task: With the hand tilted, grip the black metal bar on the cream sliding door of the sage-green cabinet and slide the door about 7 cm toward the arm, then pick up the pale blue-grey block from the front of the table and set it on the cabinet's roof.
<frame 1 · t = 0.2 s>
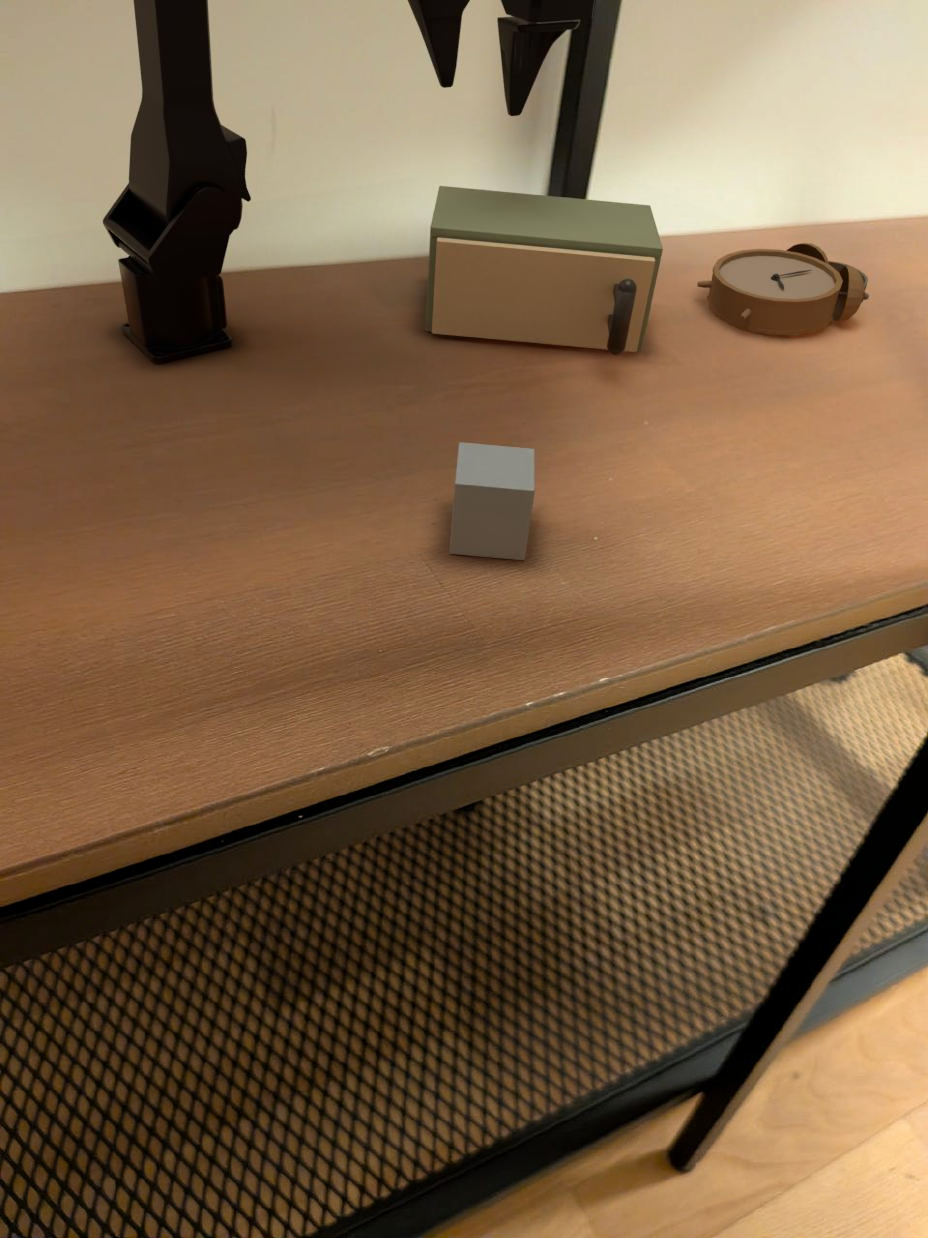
hand: (479, 100, 79), 15 cm above the table, tool pointing down, fingers open, 9 cm apart
block: (488, 535, 58), on the table
door: (540, 309, 74), point 4 cm above the table, slide at 0.0 cm
cabinet: (533, 315, 83), on the table
alarm clock: (782, 311, 88), on the table
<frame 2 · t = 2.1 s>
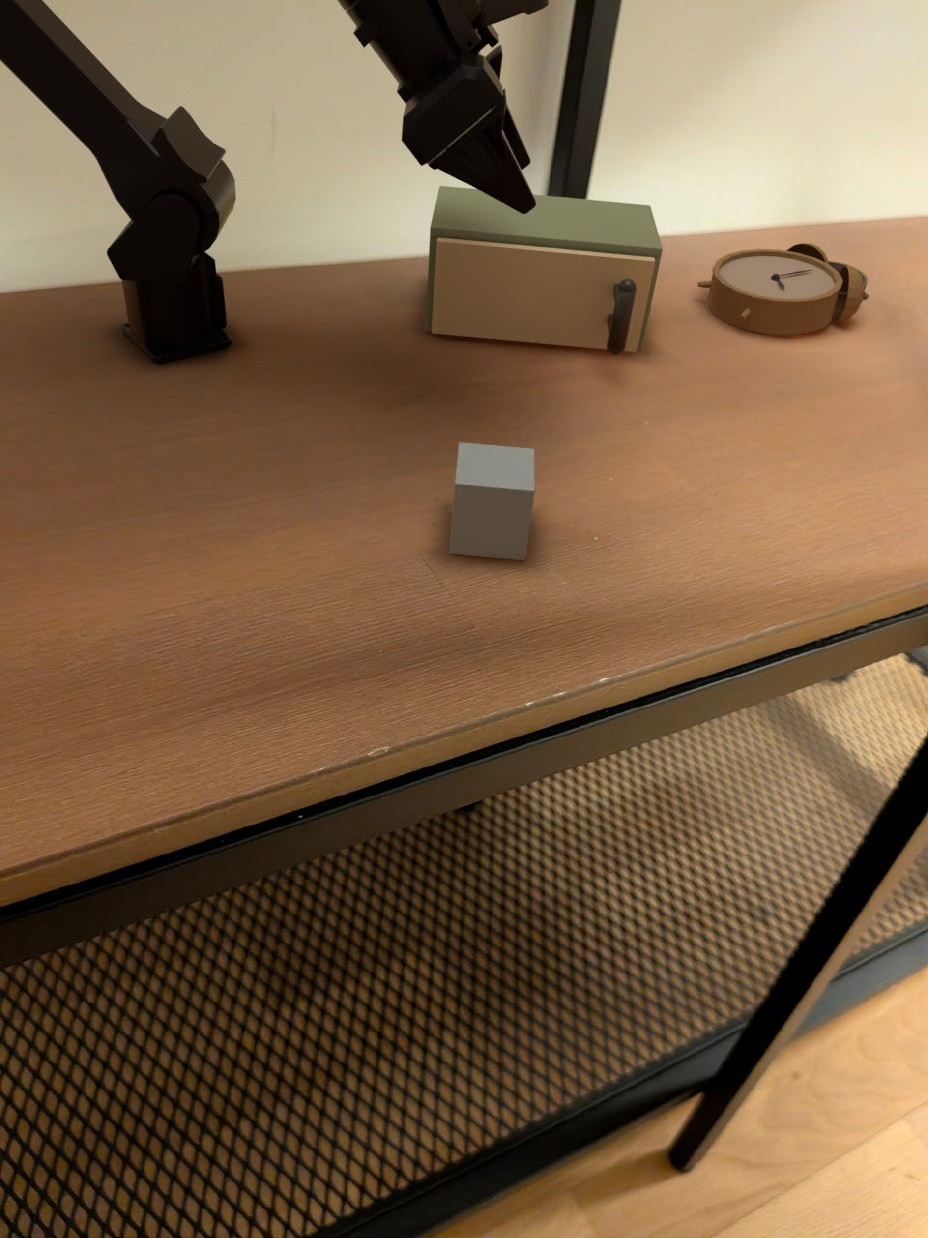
hand: (527, 186, 67), 13 cm above the table, tool tilted 40°, fingers open, 9 cm apart
nothing on the table moved.
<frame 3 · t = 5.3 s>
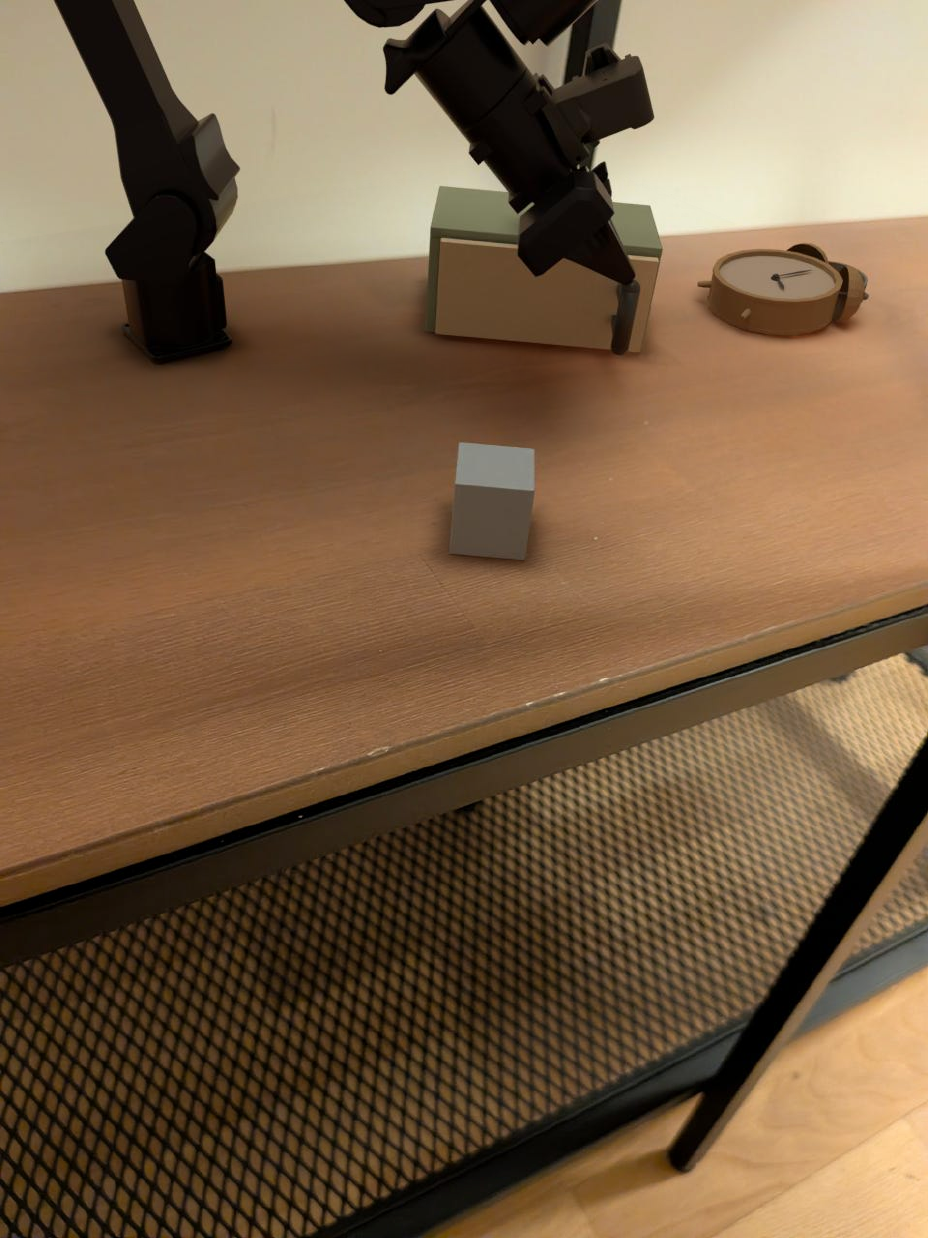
hand: (630, 279, 70), 8 cm above the table, tool tilted 45°, fingers closed, pressing on door
door: (543, 309, 74), point 4 cm above the table, slide at 0.3 cm, touching gripper
everything else where it was.
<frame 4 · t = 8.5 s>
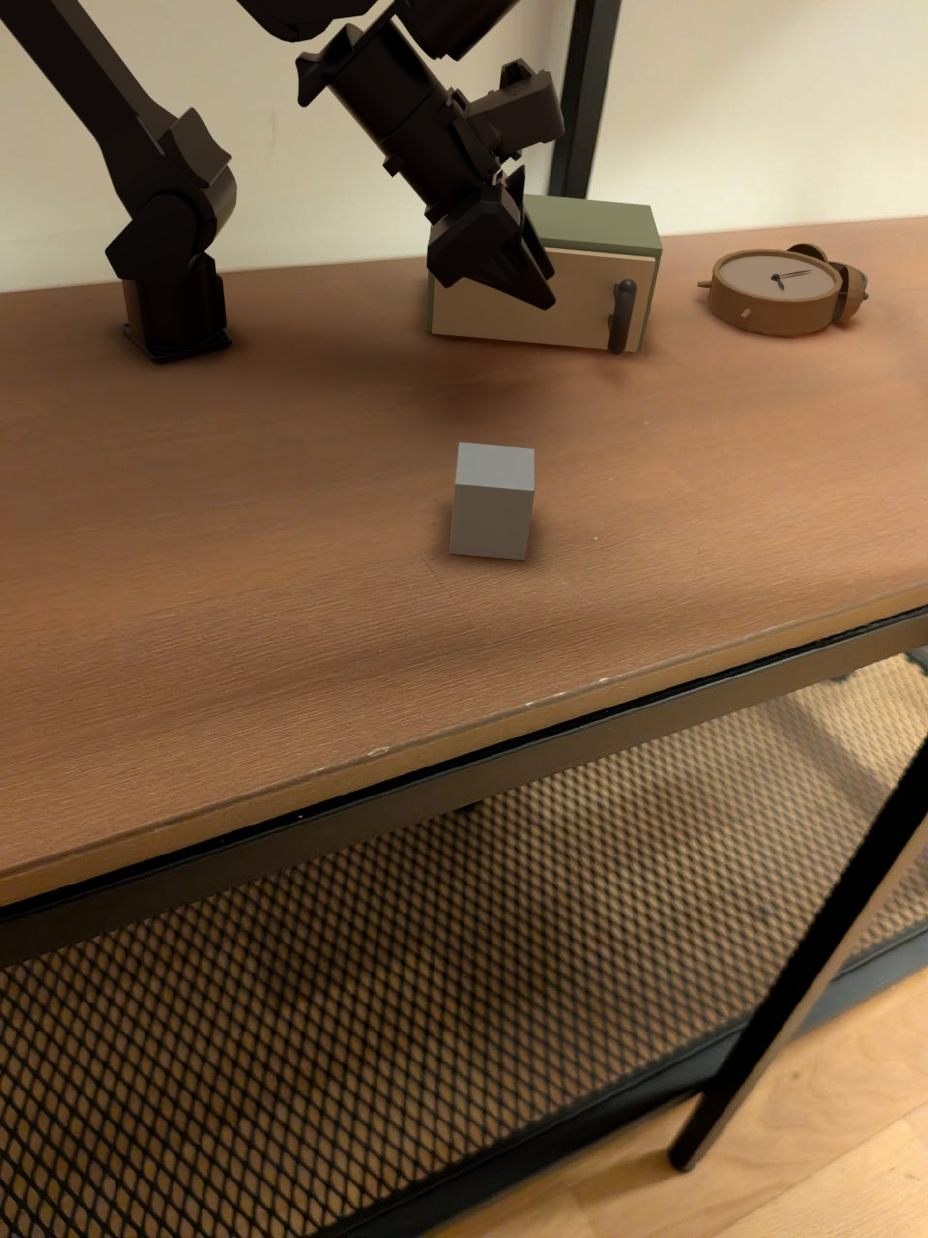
hand: (550, 291, 70), 7 cm above the table, tool tilted 45°, fingers open, 5 cm apart
door: (540, 309, 74), point 4 cm above the table, slide at 0.0 cm, touching gripper
everything else where it was.
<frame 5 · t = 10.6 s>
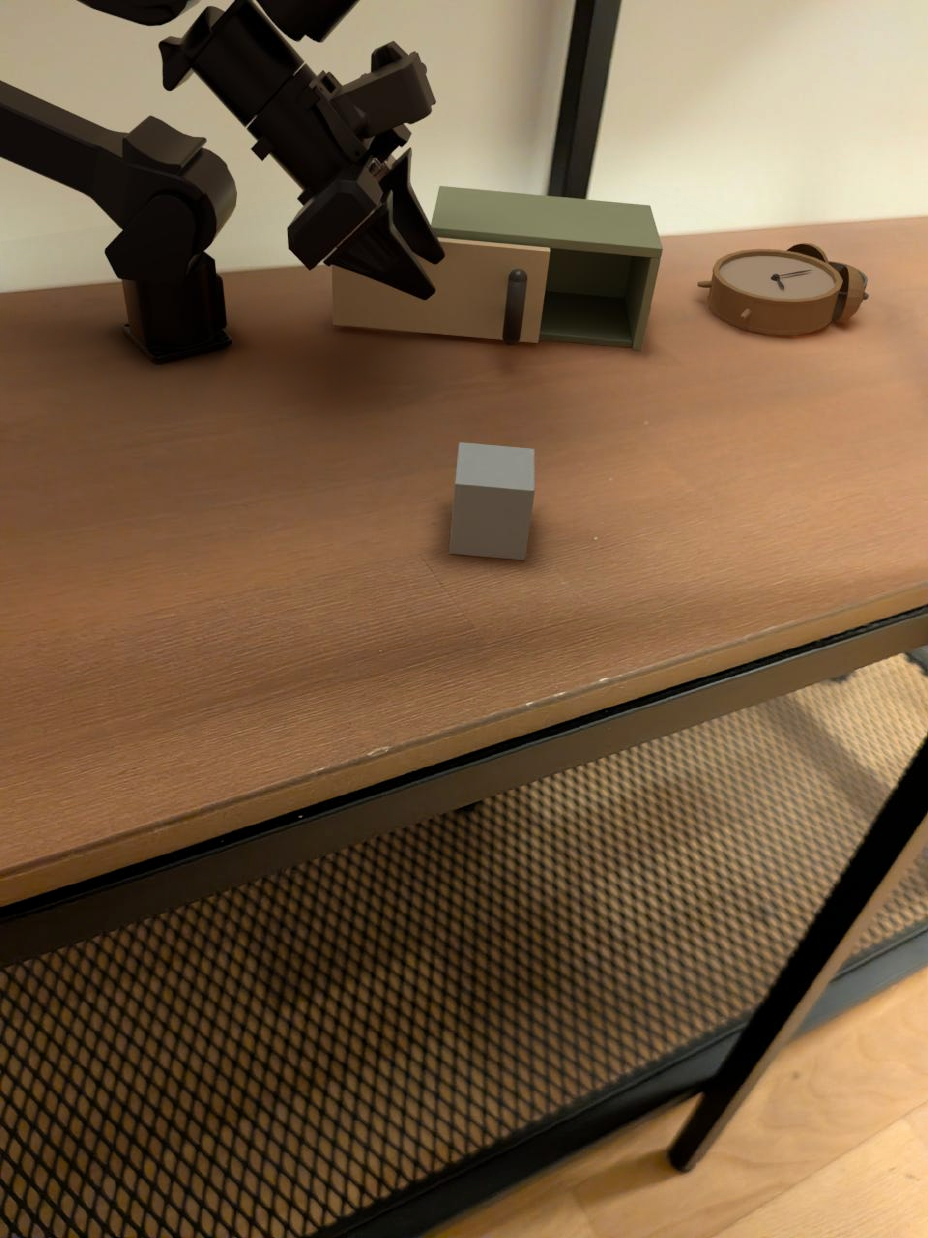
hand: (436, 277, 70), 7 cm above the table, tool tilted 45°, fingers open, 7 cm apart
door: (436, 299, 74), point 4 cm above the table, slide at -8.1 cm, touching gripper
everything else where it was.
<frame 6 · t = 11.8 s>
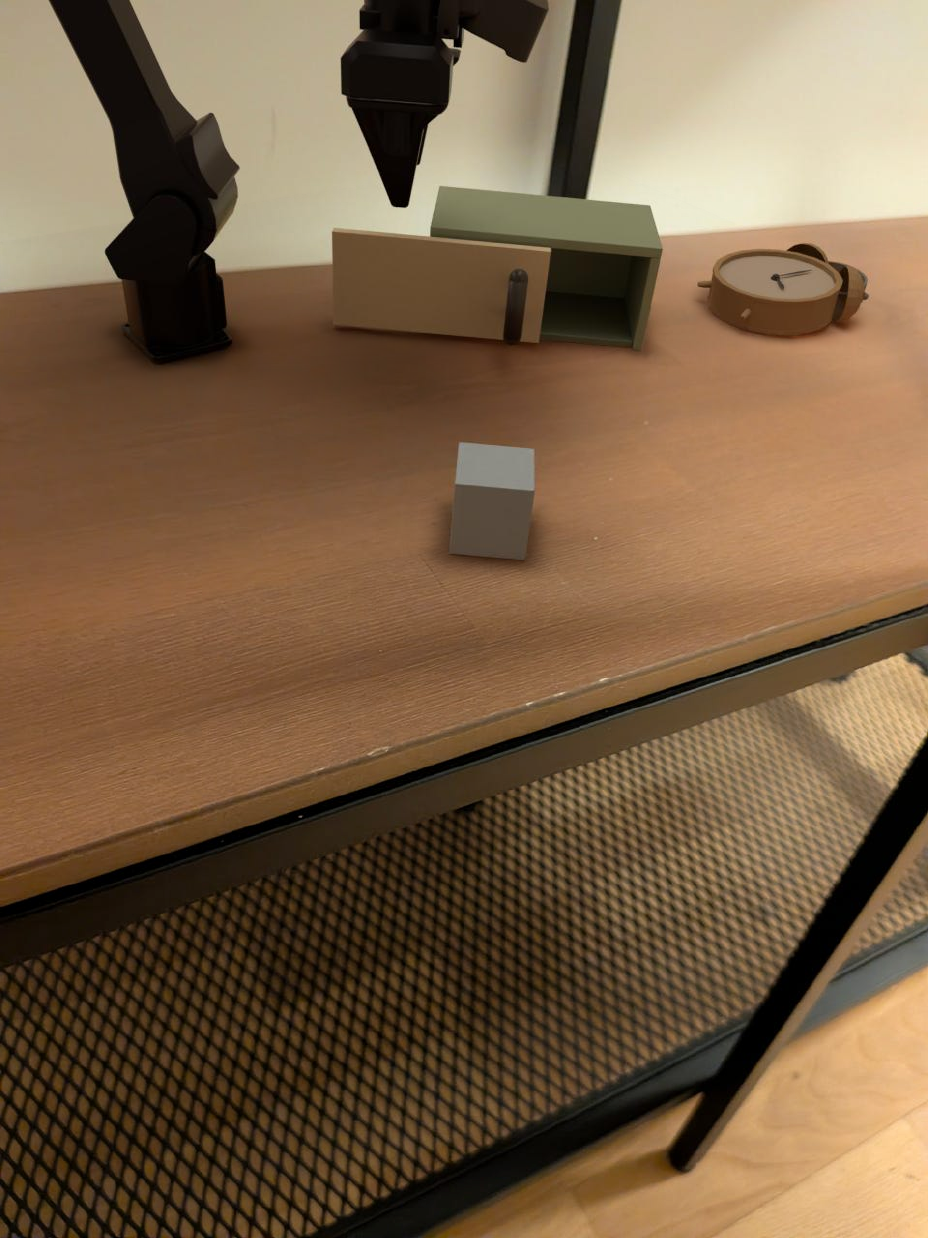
hand: (406, 184, 66), 13 cm above the table, tool pointing down, fingers open, 9 cm apart
door: (437, 299, 74), point 4 cm above the table, slide at -8.0 cm
everything else where it was.
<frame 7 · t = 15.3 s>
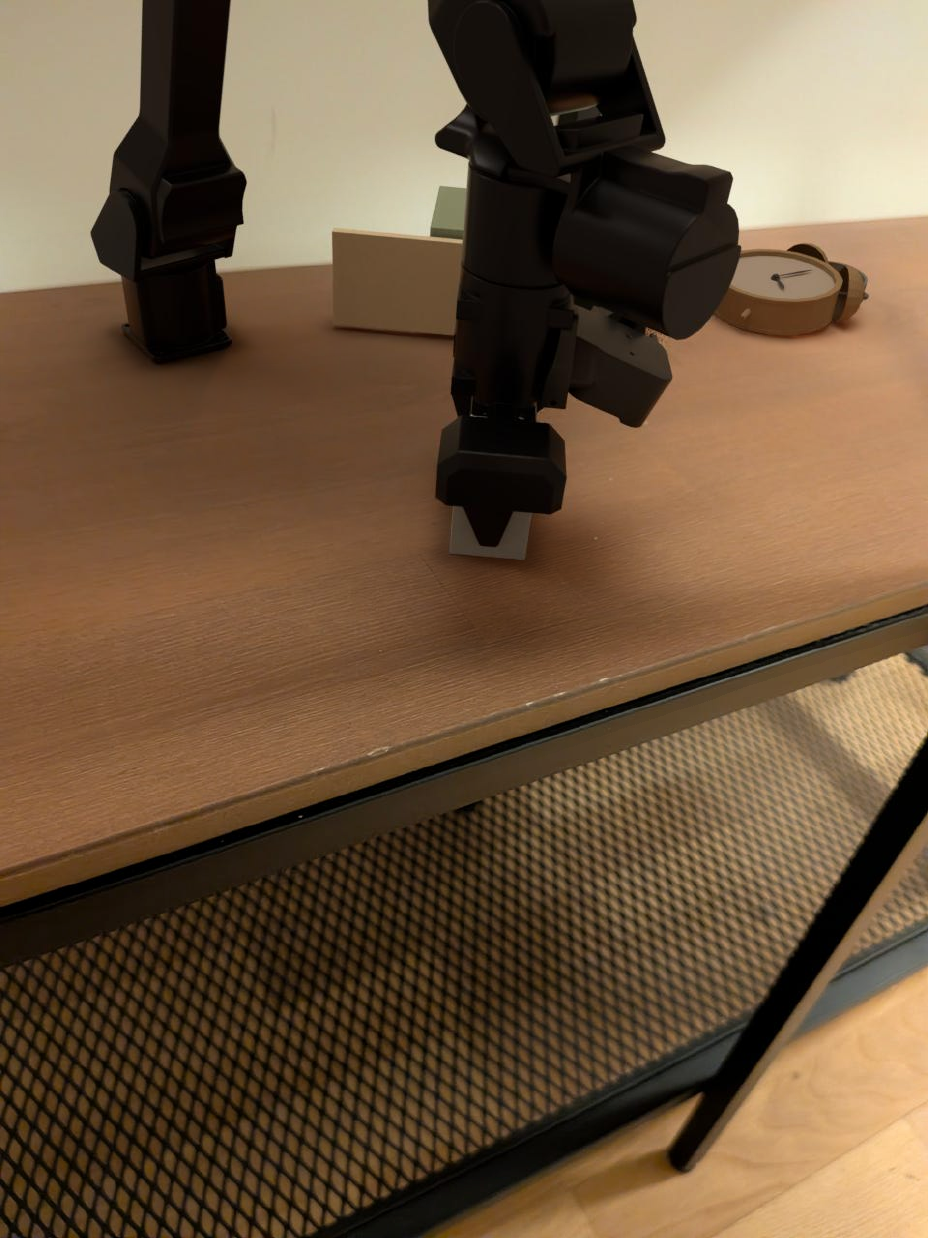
hand: (489, 521, 58), 1 cm above the table, tool pointing down, fingers closed on block, 4 cm apart
block: (488, 534, 58), on the table, touching gripper
everything else where it was.
when the fingers open (9 cm above the table, at t = 20.6 s): block stays where it is, resting on cabinet.
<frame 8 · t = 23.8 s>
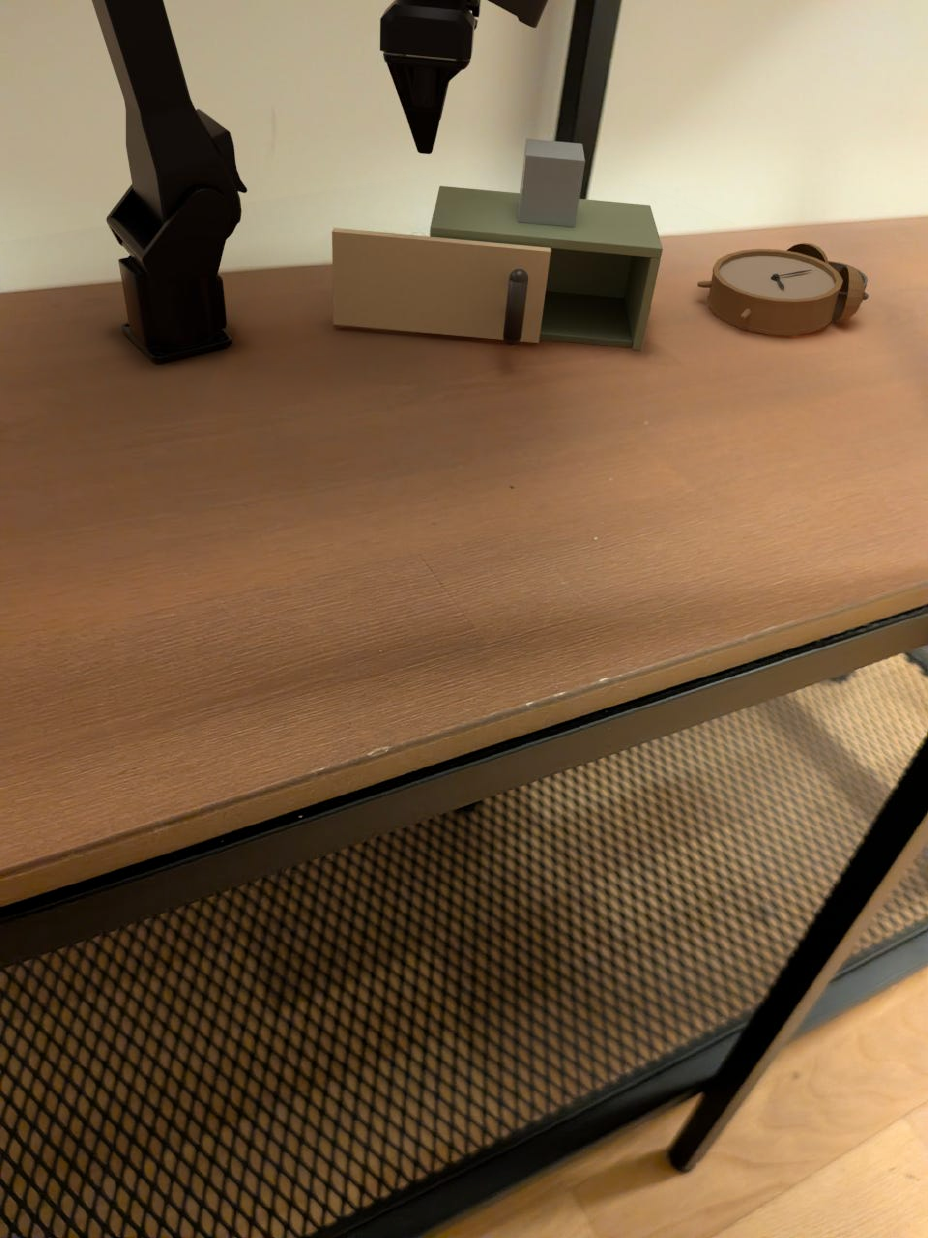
hand: (429, 135, 76), 13 cm above the table, tool pointing down, fingers open, 9 cm apart
block: (546, 215, 77), point 8 cm above the table, touching cabinet
everything else where it was.
at the end: door slide at -8.0 cm; block inside the target area on the cabinet (0.0 cm from its centre), point 8.5 cm above the cabinet's base; block tilted 0° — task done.
